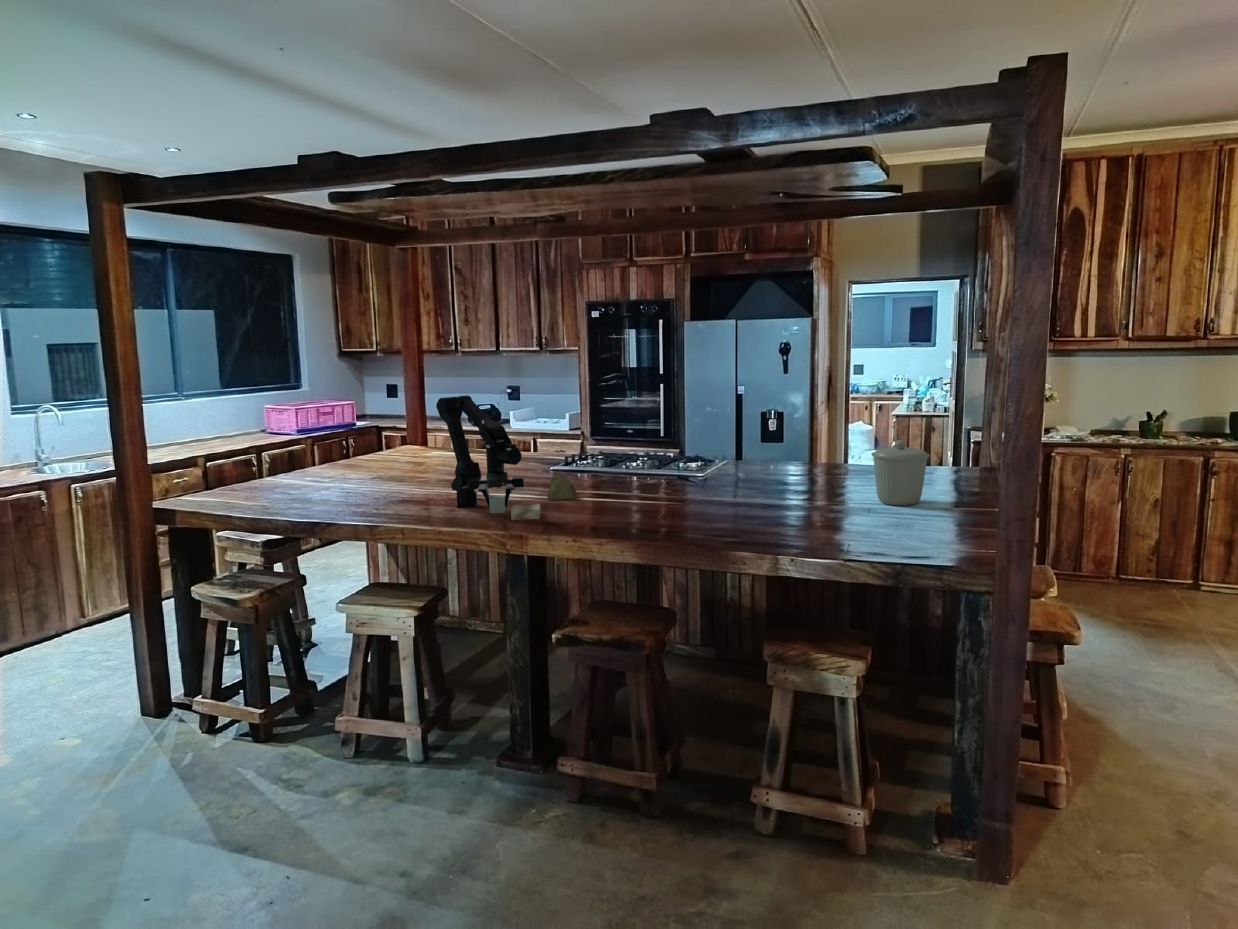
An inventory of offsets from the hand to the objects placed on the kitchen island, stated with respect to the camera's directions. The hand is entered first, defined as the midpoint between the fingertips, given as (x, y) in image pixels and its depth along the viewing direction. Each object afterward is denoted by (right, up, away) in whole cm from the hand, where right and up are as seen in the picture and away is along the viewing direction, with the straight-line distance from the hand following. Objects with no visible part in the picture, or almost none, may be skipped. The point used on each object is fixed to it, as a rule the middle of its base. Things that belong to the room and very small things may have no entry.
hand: (497, 507), depth 275 cm
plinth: (+11, -2, -8) cm, 14 cm away
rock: (+21, +2, +19) cm, 28 cm away
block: (0, -1, 0) cm, 1 cm away
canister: (+135, +2, -5) cm, 135 cm away
